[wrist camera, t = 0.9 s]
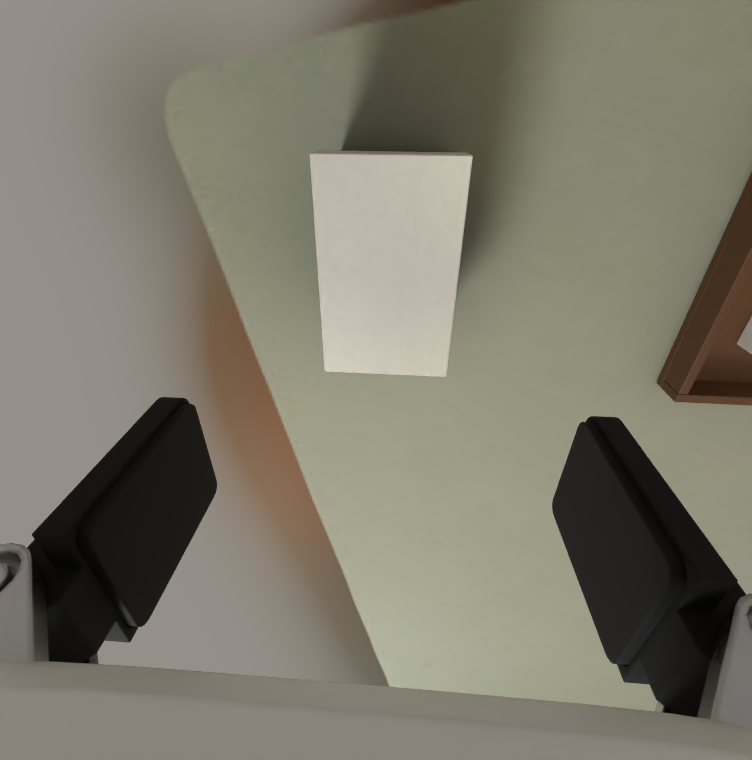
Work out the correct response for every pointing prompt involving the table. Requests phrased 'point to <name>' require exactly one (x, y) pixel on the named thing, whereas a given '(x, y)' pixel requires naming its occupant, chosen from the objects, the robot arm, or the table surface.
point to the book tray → (717, 324)
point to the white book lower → (746, 337)
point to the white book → (388, 257)
